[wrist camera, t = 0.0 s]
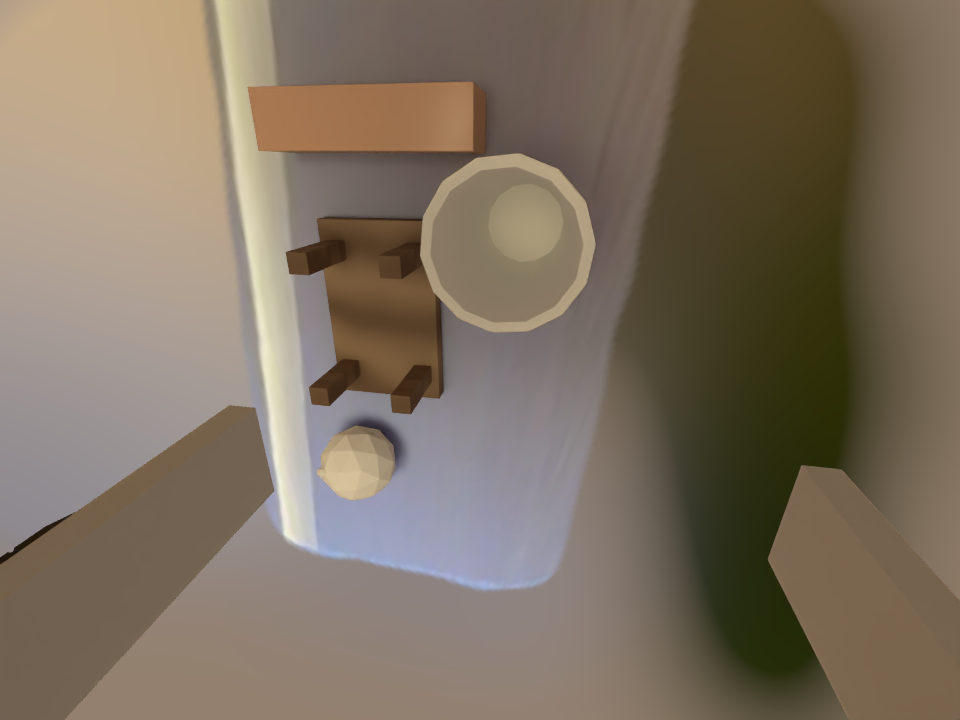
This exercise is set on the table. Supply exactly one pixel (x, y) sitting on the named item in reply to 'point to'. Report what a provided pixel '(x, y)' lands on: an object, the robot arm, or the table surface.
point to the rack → (376, 310)
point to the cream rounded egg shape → (357, 463)
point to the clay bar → (371, 118)
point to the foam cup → (507, 243)
